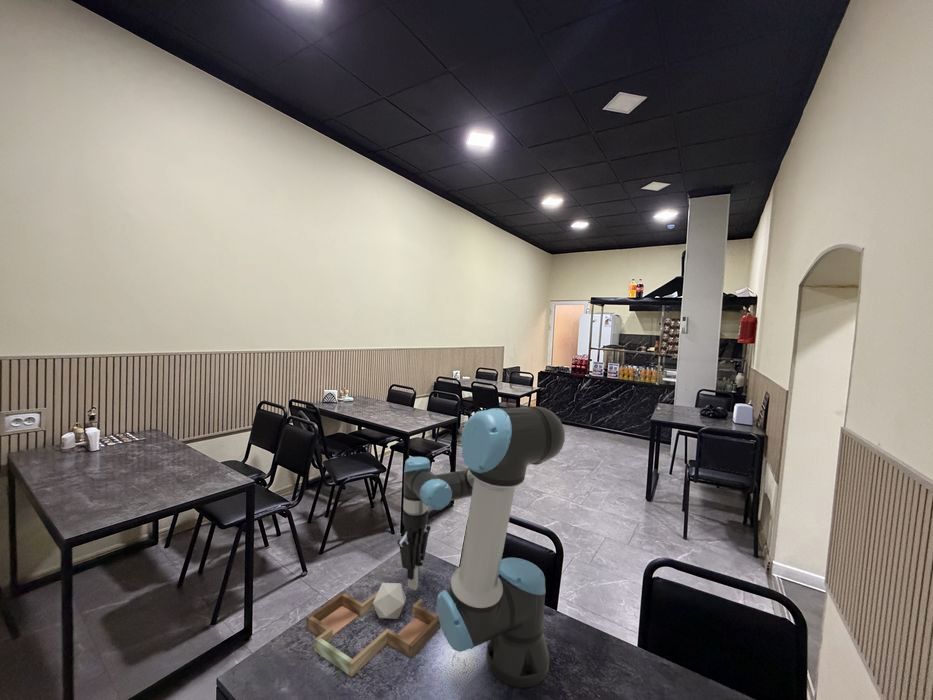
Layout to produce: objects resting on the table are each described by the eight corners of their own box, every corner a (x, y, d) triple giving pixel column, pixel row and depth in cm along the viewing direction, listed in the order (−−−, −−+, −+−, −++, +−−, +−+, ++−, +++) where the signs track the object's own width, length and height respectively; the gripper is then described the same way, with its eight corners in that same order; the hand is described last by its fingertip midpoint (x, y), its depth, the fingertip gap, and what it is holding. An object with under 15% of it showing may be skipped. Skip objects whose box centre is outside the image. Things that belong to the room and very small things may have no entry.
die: (389, 634, 101) (412, 597, 104) (362, 612, 102) (385, 577, 105) (394, 623, 109) (415, 589, 112) (369, 603, 110) (390, 570, 113)
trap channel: (445, 622, 105) (446, 611, 105) (377, 695, 83) (378, 681, 83) (369, 583, 120) (369, 573, 120) (294, 636, 98) (294, 625, 98)
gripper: (419, 499, 122) (416, 572, 123) (391, 514, 111) (388, 594, 112) (438, 505, 118) (435, 580, 119) (411, 521, 107) (407, 604, 108)
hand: (412, 587), depth 115 cm, fingers closed
